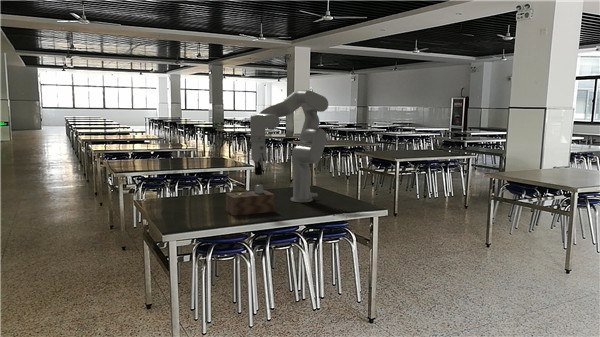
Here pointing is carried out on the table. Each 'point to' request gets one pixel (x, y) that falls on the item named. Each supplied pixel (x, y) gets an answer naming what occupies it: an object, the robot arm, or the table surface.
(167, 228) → the table surface
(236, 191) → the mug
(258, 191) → the steel peg
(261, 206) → the walnut block
